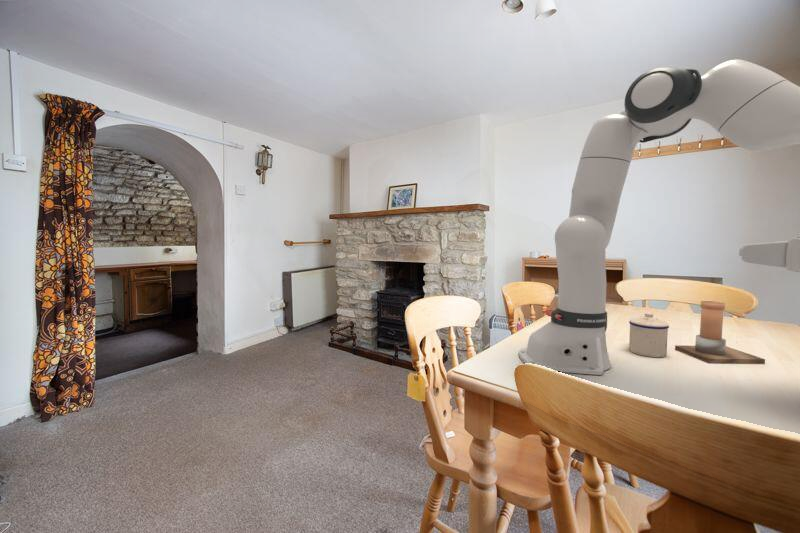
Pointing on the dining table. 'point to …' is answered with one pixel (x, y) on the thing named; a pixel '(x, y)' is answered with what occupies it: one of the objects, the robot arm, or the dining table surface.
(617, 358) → the dining table surface
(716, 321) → the peach lidded canister
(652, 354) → the teacup with lid
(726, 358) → the stud board
